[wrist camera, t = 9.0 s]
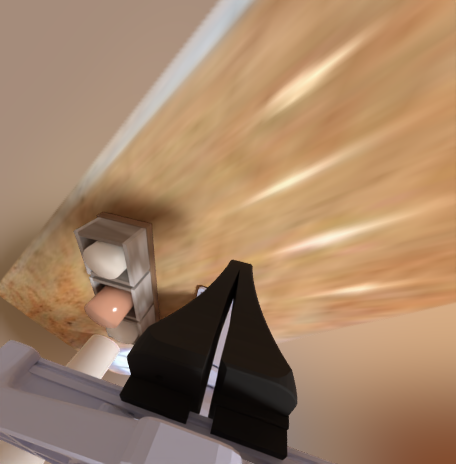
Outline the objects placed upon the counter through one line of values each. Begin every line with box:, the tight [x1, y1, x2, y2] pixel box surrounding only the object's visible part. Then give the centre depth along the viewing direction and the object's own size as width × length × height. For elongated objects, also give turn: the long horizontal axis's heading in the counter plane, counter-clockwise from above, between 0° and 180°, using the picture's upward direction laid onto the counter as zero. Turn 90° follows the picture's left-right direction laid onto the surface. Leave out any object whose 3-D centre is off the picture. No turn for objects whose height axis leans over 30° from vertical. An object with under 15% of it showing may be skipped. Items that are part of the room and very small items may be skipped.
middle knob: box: [85, 285, 134, 328], centre depth 26 cm, size 5×5×4 cm
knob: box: [107, 321, 139, 344], centre depth 32 cm, size 5×5×4 cm
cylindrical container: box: [0, 334, 120, 464], centre depth 34 cm, size 7×7×25 cm
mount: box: [74, 212, 160, 345], centre depth 29 cm, size 21×7×4 cm, turn 173°
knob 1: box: [83, 241, 127, 279], centre depth 24 cm, size 5×5×4 cm
